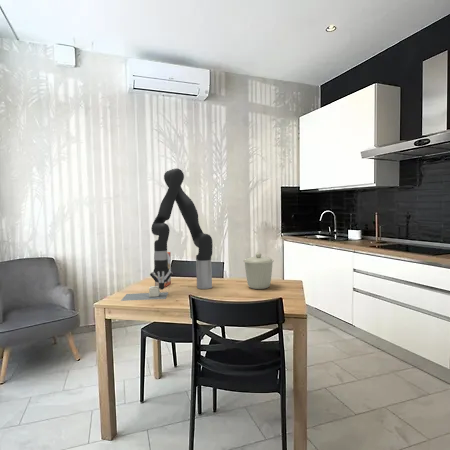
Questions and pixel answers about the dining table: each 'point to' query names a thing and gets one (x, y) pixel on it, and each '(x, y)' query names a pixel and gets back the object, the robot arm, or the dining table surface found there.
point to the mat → (143, 296)
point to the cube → (154, 291)
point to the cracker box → (167, 273)
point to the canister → (258, 271)
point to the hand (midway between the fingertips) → (161, 289)
